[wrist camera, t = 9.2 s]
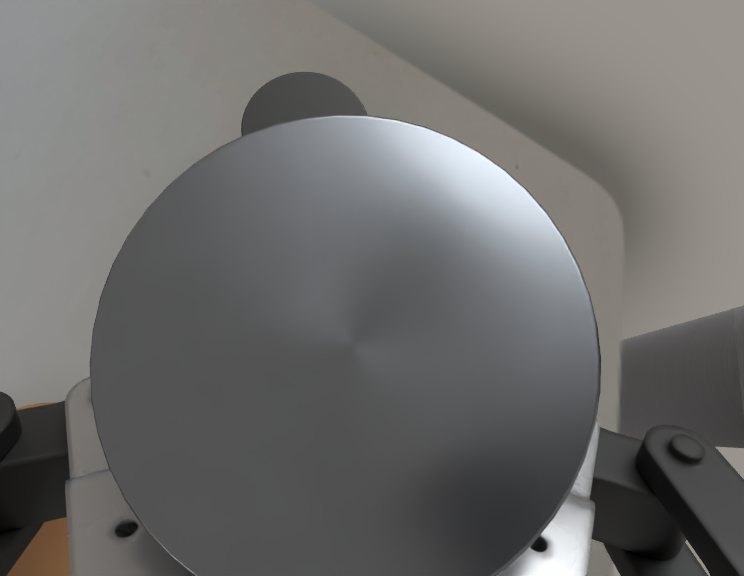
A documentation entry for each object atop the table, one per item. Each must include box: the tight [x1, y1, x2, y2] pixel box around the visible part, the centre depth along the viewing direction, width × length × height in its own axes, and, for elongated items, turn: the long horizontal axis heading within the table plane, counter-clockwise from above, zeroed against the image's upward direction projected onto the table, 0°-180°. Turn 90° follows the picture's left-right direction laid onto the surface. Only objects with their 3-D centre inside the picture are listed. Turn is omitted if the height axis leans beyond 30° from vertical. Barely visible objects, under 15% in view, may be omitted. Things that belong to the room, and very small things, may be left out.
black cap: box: [241, 72, 367, 136], centre depth 30 cm, size 6×6×4 cm
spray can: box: [90, 114, 601, 576], centre depth 14 cm, size 6×6×16 cm
